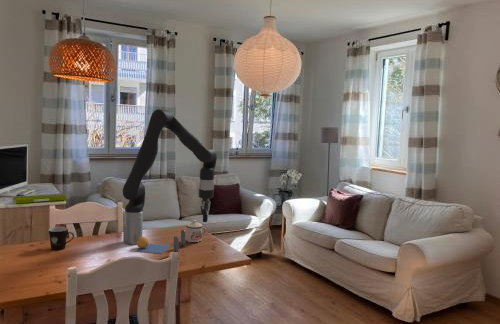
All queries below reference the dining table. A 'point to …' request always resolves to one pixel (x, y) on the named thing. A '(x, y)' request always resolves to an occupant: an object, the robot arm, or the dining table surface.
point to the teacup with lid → (194, 231)
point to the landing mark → (153, 248)
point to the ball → (142, 242)
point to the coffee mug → (58, 238)
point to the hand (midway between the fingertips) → (205, 221)
